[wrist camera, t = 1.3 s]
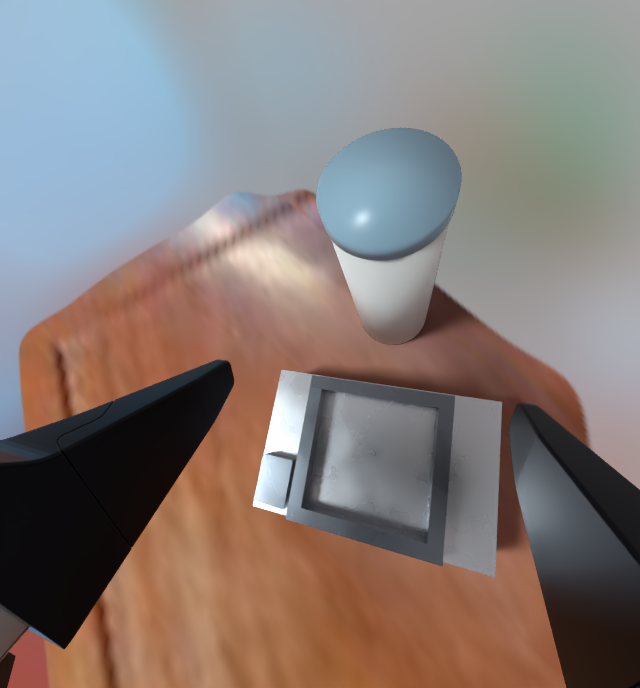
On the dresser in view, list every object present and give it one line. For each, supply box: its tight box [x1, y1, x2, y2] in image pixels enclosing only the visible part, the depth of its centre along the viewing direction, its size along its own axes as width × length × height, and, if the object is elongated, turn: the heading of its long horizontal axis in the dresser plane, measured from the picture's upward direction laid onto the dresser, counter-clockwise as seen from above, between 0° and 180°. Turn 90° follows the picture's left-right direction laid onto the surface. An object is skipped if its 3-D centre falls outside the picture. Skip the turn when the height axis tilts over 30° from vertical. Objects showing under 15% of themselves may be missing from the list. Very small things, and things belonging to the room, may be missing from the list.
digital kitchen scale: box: [253, 370, 502, 577], centre depth 19 cm, size 9×14×4 cm, turn 80°
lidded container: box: [316, 128, 461, 345], centre depth 17 cm, size 5×5×13 cm
